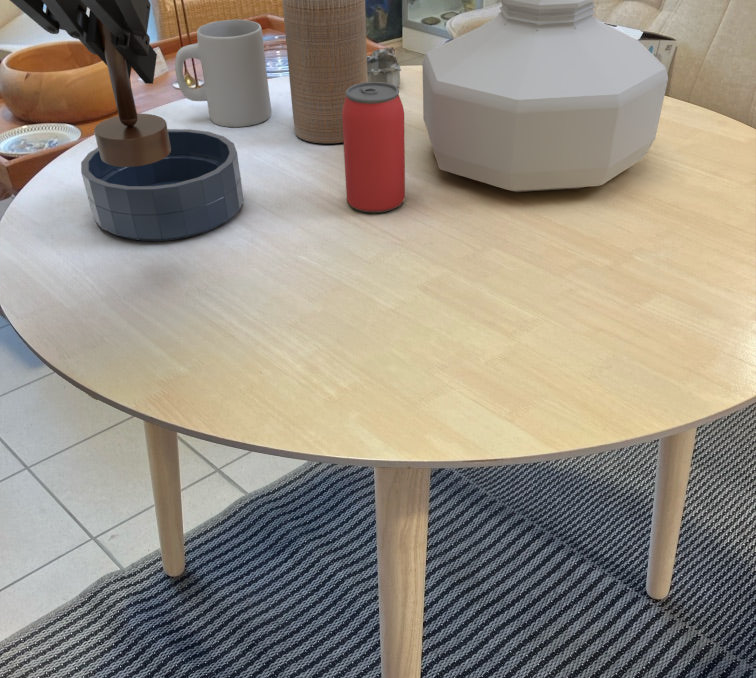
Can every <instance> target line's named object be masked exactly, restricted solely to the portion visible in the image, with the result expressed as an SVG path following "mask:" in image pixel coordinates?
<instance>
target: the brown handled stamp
mask: <svg viewBox="0 0 756 678" xmlns="http://www.w3.org/2000/svg"><path fill="white" fill-rule="evenodd" d="M96 18H97V22H98V26H99V31H100V35H101V40H102V44H103V49H104V53H105V57H106V62H107V65H106V67H107V71H108V74H109V80H110V84H111V88H112V93H113V97H114V101H115V102H114V103H115V106H116V110H117V115H116V116H113V117H110V118H107V119H104V120H102V121H100V122H99V123H98V124H96V125H95V127H94V129H93V133H94V137H95V141H96V144H97V148H98V149H99V153H100V157H101V160H102V161H103V162H105V163H107V164H109V165H113V166H119V167H135V166H142V165H147V164H151V163H154V162H157V161H160V160H162V159H164V158H165V157H167V156H168V155H169V154H170V152H171V145H170V139H169V134H168V129H169V128H168V123H167V121H166V119H165V118H164V117H161V116H159V115H156V114H150V113H137V106H136V103H135V97H134V93H133V88H132V84H131V77H130V78H129V74H128V69H127V64H126V60H125V58H124V57H123V56H122V55H121V54H120V53H119V52H118V50H117V49H116V48H115V47H114V46H113V44H112V43H111V39H112V32H111V31H110V30H109V29H108V28H107V27H106V26H105V25H104V24H103V23H102V22H101V21H100V20H99V18H98V17H97V16H96Z"/></svg>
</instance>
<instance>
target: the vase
mask: <svg viewBox="0 0 756 678" xmlns="http://www.w3.org/2000/svg"><path fill="white" fill-rule="evenodd" d="M281 3H282V13H283V24H284V35H285V44H286V55H287V56H286V57H287V66H288V67H287V68H288V78H289V88H290V89H289V90H290V97H291V98H290V99H291V100H290V101H291V110H292V111H291V112H292V119H293V120H292V121H293V130H294V133H295V135H296V137H298V139H300V140H302V141H304V142H308V143H310V144H311V143H313V144H318V145H338V144H344V141H343V123H342V110H343V105H344V101H345V98H346V91H347V89H348V88H349V87H351V86H353V85H356V84H359V83H365V82H368V76H367V56H368V50H367V47H368V46H367V18H366V0H281Z"/></svg>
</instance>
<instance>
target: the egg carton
mask: <svg viewBox="0 0 756 678" xmlns="http://www.w3.org/2000/svg"><path fill="white" fill-rule="evenodd" d="M401 68H402V67H401V66H400V63H399V62H398V58H397V55H396V53H395V50H394V46H392V47H383V48H378V49H376V50H373V51H372V53H371V55H367V76H368V82H384V83H389V84H392V85H394V86H396V87H397V88H399V87H400V85H401V72H402V69H401Z"/></svg>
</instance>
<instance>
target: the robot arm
mask: <svg viewBox="0 0 756 678" xmlns="http://www.w3.org/2000/svg"><path fill="white" fill-rule="evenodd" d="M9 2H11V3H12V4H13V5H14V6H16V7H17V8H18V9H19V10H20V11H22V12H23V13H24V14H25V15H26V16H28V17H29V18H30V19H31V20H33V21H34V22H35V23H36V24H37V25H38V26H39V27H40V28H42V29H43V30H44V31H45V32H47V33H49V34H52V35H58V34H60V30H61V31H65V32H66V33H67V34H68V35H69V36H70V37H71V38H72V39H76V40H79V41H80V42H81V43H82V44H83V46H84V47H85V48H86V50H88V52H90V53H91V54H93V55H97V56H98V57H99V59H100V60H101V61H102V62H103V63H104V64H105V65H106V66H107V62H106V57H105V53H104V49H103V44H102V40H101V35H100V31H99V26H98V22H97V18H96V16H97V17H98V18H99V20H100V21H101V22H102V23H103V24H104V25H105V26H106V27H107V28H108V29H109V30H110V31H111V32H112V39H111V43H112V44H113V46H114V47H115V48H116V49H117V50H118V52H119V53H120V54H121V55H122V56H123V57H124V58H125V60H126V64H127V69H128V74H129V78H130V79H131V75H132V73H131V72H132V70H133V71H134V72H135V73H136V74H137V76H138V77H139V78H140V79H141V80H142V82H143V83H144V84H145V85H146V84H147V85H149V84H150V85H151V84H152V85H154V81H155V72H156V65H157V57H158V54H157V52H156V51H155V50H154V48H153V47H152V46H151V44H150V42H151V38H150V36H149V34H148V29H149V21H150V13H151V2H150V0H9ZM44 5H45V10H44ZM88 9H89V12H88V13H89V14H87V11H88Z"/></svg>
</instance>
